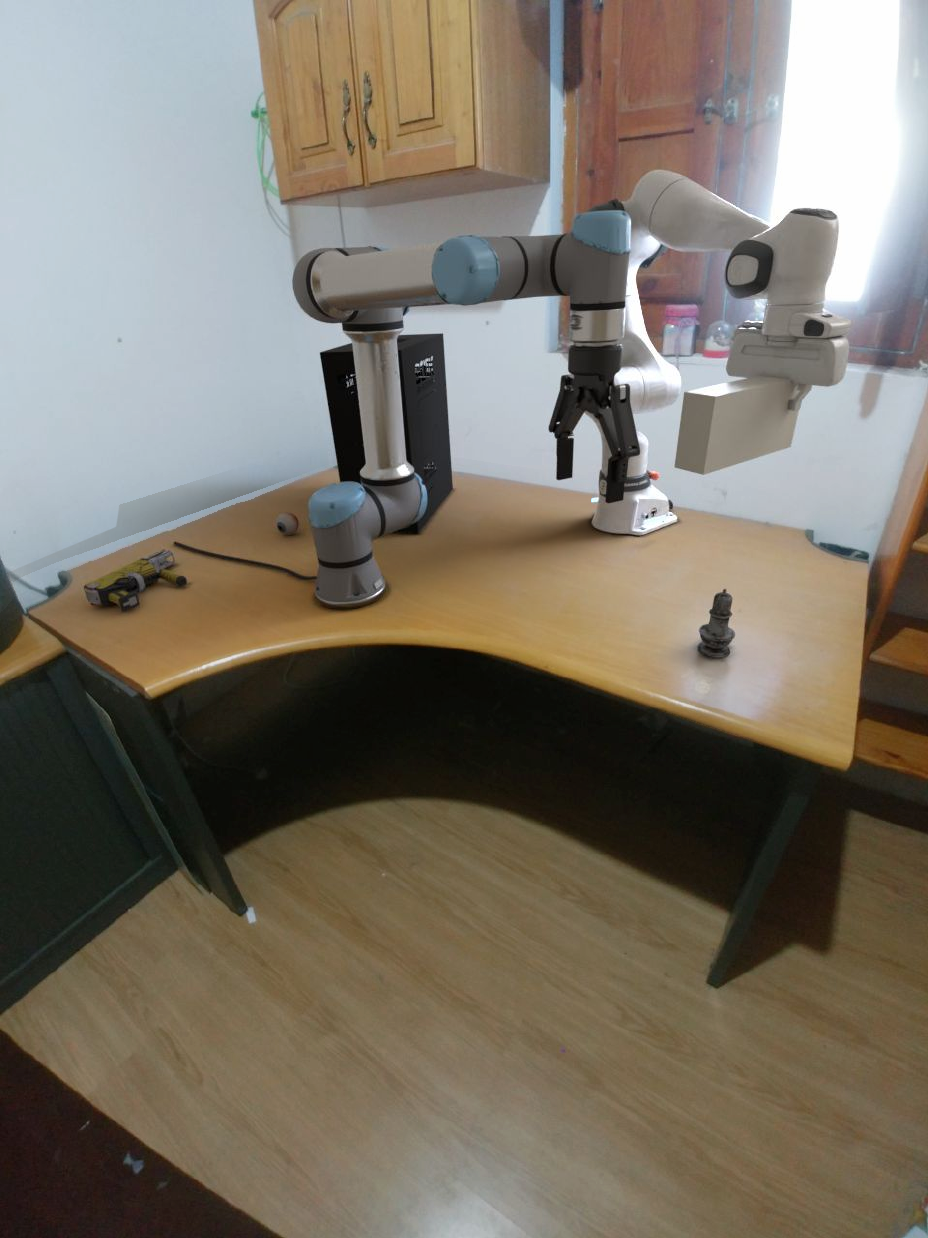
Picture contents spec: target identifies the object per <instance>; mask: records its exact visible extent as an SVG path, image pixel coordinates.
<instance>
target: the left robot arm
mask: <svg viewBox="0 0 928 1238" xmlns="http://www.w3.org/2000/svg"><path fill="white" fill-rule="evenodd" d="M630 230H631V220H630V216H629V215H628V213H626V212H625V211H621V210H608V211H594V212H587V211H586V212H583V213H582V212H581V213H577V214H576V215H575V216H574V218H573V220H572V226H571V231H570V232H566V233H562V234H546V235H544V234H543V235H510V236H508V235H504V236H477V235H475V234H474V235H473V234H470V235H459V236H455V237H451V238H448V239H446V240H445V241H439V242H431V243H425V244H419V245H412V246H405V247H398V248H388V247H381V246H380V247H379V246H372V245H369V246H356V247H355V246H354V247H353V246H351V247H321V248H316V249H313V250H311V251H309V252H307V253H305V254H304V255H303V256H302V257H301V258H300V259H299V260H298V261H297V262H296V265H295V267H294V269H293V274H292V281H291V282H292V283H291V285H292V291H293V296H294V298H295V300H296V303H297V304H298V306H299V307H300V309H302V311H303V312H304V313H305V314H306V315H307V316H309V317H310V318H312V319H314V320H315V321H317V322H319V323H320V322H321V323H323V324H324V323H325V324H341V327H342V329H341V330H342V333H343V334H344V335H345V336H347V337H348V338H349V339H350V341H351V343H352V346H353V354H354V363H355V372H356V377H355V378H356V381H357V389H358V398H359V407H360V415H361V424H362V433H363V441H364V450H365V459H366V464H365V466H364V467H363V468H362V469H361V470H360V478H361V484H359V483H357V482H352V481H346V482H340V481H339V482H338V483H336V482H333V483H330V484H328V485H325V486H323V487H321V488H319V489H317V490H316V491H315V492H313V494H312V495H311V496H310V497H309V500H308V504H307V506H308V508H307V509H308V521H309V524H310V527H311V531H312V537H313V543H314V546H315V552H316V557H317V558H316V559H317V562H318V567H317V568H318V569H317V574H316V575H312V576H307V575H302V574H299V573H297V572H295V571H293V570H291V569H289V568H287V567H283V566H280V565H275V564H271V563H267V562H261V561H256V560H253V559H245V558H241V557H235V556H230V555H226V554H220V553H216V552H212V551H206V550H203V549H199V548H195V547H193V546H189V545H186V544H185V543H184V544H183V543H181V542H178V541H174V542H173V545H175V546H178V547H179V548H180V547H181V548H183V549H186V550H188V551H193V552H195V553H198V554H203V555H207V556H211V557H215V558H220V559H225V560H230V561H235V562H240V563H246V564H251V565H255V566H260V567H265V568H270V569H275V570H279V571H282V572H285V573H288V574H290V575H292V576H293V577H296V578H298V579H301V580H305V581H313V580H314V581H315V584H314V585H315V587H314V594H315V598H316V601H317V603H318V604H320V606H322V607H325V608H329V609H333V610H334V609H335V610H349V609H351V610H352V609H358V608H361V607H365V606H368V605H371V604H373V603H375V602H378V600H380V599H381V598H382V597H383V596H384V595H385V593H386V591H387V585H386V579H385V577H384V576H383V574H382V572H381V570H380V567H379V566H378V564H377V561H376V560H375V557H374V553H373V544H372V542H373V541H375V540H377V539H379V538H382V537H384V536H387V535H389V534H392V532H395V531H397V530H399V529H404V528H407V527H408V526H410V525H411V524H413V523H415V522H417V521H418V520H419V519H420V518H421V517H422V516H423V514H424V512H425V510H426V507H427V491H426V487H425V485H422V479H421V478H420V476H419V475H417V474H416V473H415V472H414V467H413V466H412V465H411V464H409V463H408V462H407V461H406V450H405V437H404V425H403V412H402V400H401V387H400V375H399V362H398V350H397V338H398V336H399V335H401V334H402V332H403V331H404V329H405V326H404V317H405V316H406V315H407V314H408V313H409V312H410V311H411V309H412V308H415V307H430V306H431V307H432V306H447V305H454V306H455V305H456V306H463V307H465V306H466V307H467V306H475V305H479V304H486V303H493V302H500V301H511V300H520V299H522V300H523V299H529V298H544V297H569V311H570V313H569V335H568V340H569V341H570V342H572V343H573V344H571V345H570V346H569V348H568V352H567V353H568V355H567V371H568V374H562V375H561V377H560V383H559V391H558V394H557V398H556V401H555V405H554V406H553V407H554V408H553V411H552V414H551V418H550V421H549V424H548V432H549V433H553V436H554V438H555V440H556V446H555V447H556V451H555V454H556V471H555V472H556V474H555V480H557V481H562V480H567V479H573V474H574V473H573V471H574V450H575V449H574V448H575V447H574V446H575V445H574V444H575V438H574V436H575V434H574V431H575V429H576V427H577V425H578V424H579V422H580V420H581V419H582V417H583V416H584V414H585V413H584V412H585V411H588V412H589V413H592V414H594V417H595V418H596V419H598V420H599V422H600V425H601V428H602V430H603V433H604V435H605V438H606V441H607V443H608V446H609V449H610V451H611V454H612V456H611V457H610V458H609V459H608V471H607V485H606V500H605V502H606V503H608V504H609V503H613V502H618V501H622V500H623V498H624V486H625V481H626V479H627V470H628V460H629V458H630V457H634V456H639V455H640V447H639V442H638V437H637V432H636V430H637V428H636V424H635V418H634V415H633V413H632V408H631V403H630V385H629V384H621V385H615V381H614V376H615V374H616V373H618V372H619V371H620V370H621V363H622V349H623V346H621V344H620V343H619V340H621V339H622V338H624V327H625V310H626V307H625V299H626V288H627V276H628V265H629V255H630V253H631V248H630ZM607 406H608V408H607ZM630 447H631V448H630ZM618 448H620V451H619V449H618Z"/></svg>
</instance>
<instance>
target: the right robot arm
mask: <svg viewBox="0 0 928 1238" xmlns="http://www.w3.org/2000/svg"><path fill="white" fill-rule="evenodd" d="M608 210H621V211H625V212H626V213H628V215H629V216H630V220H631V230H630V248H631V253H630V255H629V265H628V276H627V288H626V299H625V307H626V310H625V327H624V338H622V339H621V340H619V343H620V344H621V346H623V349H622V363H621V370H620V371H619V372H618V373H616V374H615V376H614V381H615V385H621V384H629V385H630V403H631V408H632V413H633V416H634V415H639V414H646V413H652V412H653V413H654V412H657V411H661V410H663V409H665V408H668V407H670V406H672V405H673V404H674V403H675V402H676V401H677V400H678V398H679V396H680V394H681V390H682V378H681V375H680V372H679V371H678V369H677V368H676V367H675V366H674V365H672V364H670V363H669V362H668V361H666V360H665V359H664V358H663V357H662V356H661V355H660V353H659V352H658V351H657V350H656V348H655V347H654V345H653V344H652V342H651V340H650V338H649V335H648V332H647V330H646V325H645V322H644V317H643V313H642V312H643V311H642V308H641V302H640V297H639V292H638V291H639V290H638V287H637V280H636V279H637V272H638V269H639V268H640V269H642V270H647V269H649V268H651V266H652V265H653V263H654V262H655V261H657V260H658V259H660V258H661V257H662V256H663V255H665V253H666V252H667V250H669V249H671V250H674V251H676V252H681V253H697V252H698V253H703V252H704V253H705V252H708V253H709V252H718V253H719V252H720V253H721V252H722V253H729V254H730V255H728V258H727V261H726V264H725V267H724V276H723V277H724V278H723V279H724V285H725V287H726V290H727V292H728V294H729V295H730V296H731V297H732V298H734V299H737V300H743V301H754V300H766V303H765V307H764V313H763V319H762V321H751V320H746V321H743V322H742V323H741V324H738V326H736V327H735V329H734V332H733V337H732V344H731V346H730V350H729V353H728V357H727V361H726V365H725V370H726V374H727V376H728V377H733V378H734V377H735V378H742V379H746V378H751V377H755V376H766V377H775V378H784V379H790V382H791V383H797V384H798V387H797V390H799V391H800V392H799V393H798V394H797V396H796V397H795V398H794V399H790V400H789V402H788V407H787V409H788V410H792V411H797V410H799V411H800V410H801V408H802V404H803V403H802V402H803V400H804V399H805V398H806V397H807V395H808V394H809V393H810V392H811V391H812V388H813V386H814V387H815V386H817V387H824V388H825V387H826V388H827V387H834V386H836V385H839V383H840V382H842V381H843V380H844V377H845V375H846V370H847V366H848V360H849V352H850V342H849V340H848V338H847V337H846V335H847V334H849V333H850V331H851V329H852V321H851V320H850V319H848V318H845V317H843V316H840V315H837V314H836V313H833V312H830V311H829V310H827V309H824V308H825V303H826V288H827V282H828V281H829V279H830V277H831V275H832V272H833V267H834V264H835V259H836V253H837V250H838V249H837V248H838V241H839V233H840V232H839V231H840V223H839V218H838V215H837V214H836V213H835V212H834V211H832V210H829V209H825V208H812V207H799V208H793V209H792V210H789V211H788V212H786V213H785V215H783V217H782V218H781V219H780V221H779V222H777V223H776V224H775V225H774V224H772V223H770V222H767V221H765V220H764V219H761V218H760V217H757V216H755V215H753V214H750V213H749V212H746V211H744V210H742V209H740V208H739V207H736V206H735V205H733V204H732V203H730V202H729V201H727V200H724V199H723V198H721V197H719V196H718V195H716V194H714V193H713V192H711V191H710V190H708V189H707V188H705V187H704V186H702V185H700V184H699V183H697V182H695V181H694V180H692V179H691V178H688V177H687V176H685V175H683V174H680V173H677V172H675V171H671V170H665V169H653V170H650V171H649V172H647V173H646V174H644V175H643V176H642V177H641V178H640V179H639V180H638V182H637V183H636V184H635V186H634V188H633V191H632V194H631V195H630V198H628V199H627V200H624V201H619V199H618V198H613V199H611V200H608V201H605V202H603V203H599V204H597V205H594V206H592V207H590V208H589V209H587V211H586V212H594V211H608ZM844 335H845V336H844ZM607 408H608V406H607ZM584 414H585V415H586V416H587V417H588V418H590V419H591V420H592V421H593V422H594V423H595V426H596V427H597V429H598V431H599V435H600V439H601V468H600V470H599V474H598V492H599V493H598V496H597V497H592V498H591V503H596V507H595V511H594V514H593V517H592V520H591V525H592V526H593V527H594V528H595V529H597V530H599V531H601V532H605V533H611V534H623V535H625V534H626V535H632V536H633V535H634V536H645V535H646V534H650V533H652V532H654V531H657V530H660V529H662V528H665V527H668V526H670V525H672V524H675V523H677V522H678V516H677V515H676V514H675V513H674V512H672V511H670V510H673V509H674V504H673V501H672V500H671V499H669V498H668V497H667V496H666V495H665V494H664V493H663V492H661V491H660V490H659V489H658V488H656V487H655V486H654V485H652V483H651V480H653V481H658V479H659V478H660V473H659V472H657V471H654V470H651V471H649V470H648V469H647V466H648V458H649V457H648V455H649V447H650V443H649V440H648V438H647V437H646V435H645V434H644V433H643V432H641V431H639V430H638V429H636V432H637V437H638V442H639V447H640V455H639V456H634V457H630V458H629V460H628V470H627V479H626V481H625V486H624V498H623V500H622V501H618V502H613V503H609V504H608V503H606V502H605V500H606V485H607V471H608V459H609V458H610V457H611V456H612V454H611V451H610V449H609V446H608V443H607V441H606V438H605V435H604V433H603V430H602V428H601V425H600V422H599V420H598V419H596V418H595V417H594V414H592V413H589V412H588V411H585V412H584ZM630 448H631V447H630ZM618 449H619V451H620V448H618Z"/></svg>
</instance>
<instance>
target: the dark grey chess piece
mask: <svg viewBox="0 0 928 1238" xmlns="http://www.w3.org/2000/svg"><path fill="white" fill-rule="evenodd" d="M732 605H733V596H732V595H731V594H730V593H729V592H728V590H727V589H726V588H724V589H722V591H720V592H717V593H715V595H714V597H713V601H712V608H711V609H710V610H708V613H709V615H710V617H709V622H708V623H705V624H702V625H701V626H700V627H699V628H698V633H699V634H700V635H699V636H700V640H701V642H700V643H698V645H697V649H698V651H699V652H700V653H701V654H703V655H705V656H707V657H710V658H715V659H716V658H720V659H721V658H726V657H727V656H729V655H730V653H731V648H730V647H729V646H730V644H731V643H732V641H733V640H734V639H735V637H736V632H735V630H734V629H732V627H730V626H729V622H730V619H731V617H732V616H733V613H732V611H731V610H732Z"/></svg>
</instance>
